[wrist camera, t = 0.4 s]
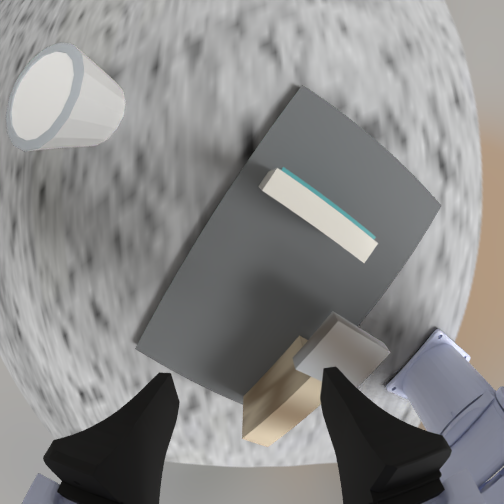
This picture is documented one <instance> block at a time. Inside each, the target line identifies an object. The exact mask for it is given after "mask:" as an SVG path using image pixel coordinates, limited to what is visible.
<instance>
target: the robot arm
mask: <svg viewBox="0 0 504 504" xmlns="http://www.w3.org/2000/svg"><path fill="white" fill-rule="evenodd" d="M439 335H440V336H439ZM469 360H470V356H469V355H468V354H467V353H466V352H465V351H464V350H463V349H461V348H460V347H459V346H458V345H457V344H456V343H455V342H454V341H452V340H451V339H450V338H449V337H448V336H447V335H446V334H444V333H443V332H442V331H441V330H440V329H436V330H435V331H434V332H433V333H432V335H431V336H430V337H429V338H428V340H427V341H426V342H425V343H424V344H423V346H422V347H421V348H420V349H419V350H418V352H417V353H416V354H415V355H414V356H413V357H412V359H411V360H410V361H409V362H408V363H407V364H406V365H405V366H404V367H403V369H402V370H401V371H400V372H399V373H398V374H397V375H396V376H395V377H394V378H393V379H392V380H391V381H390V382H389V383H388V384H387V385H386V389H387V390H388V391H390V392H392V393H394V394H396V395H399V396H401V397H404V398H406V399H408V400H409V401H410V403H411V405H412V406H413V408H414V410H415V411H416V413H417V415H418V416H419V418H420V420H421V421H422V423H423V425H424V426H425V428H426V430H427V431H425V430H422V429H419V428H417V427H414V426H412V425H410V424H407V423H405V422H403V421H401V420H399V419H397V418H396V417H394V416H392V415H390V414H389V413H387V412H386V411H384V410H383V409H381V408H380V407H378V406H377V405H376V404H375V403H373V402H372V401H371V400H370V399H368V398H367V397H366V396H365V395H364V394H363V393H362V392H361V391H360V390H358V389H357V388H356V387H355V386H354V385H353V384H352V383H351V382H350V381H349V380H348V379H347V377H346V376H345V375H344V374H343V373H342V372H341V371H340V370H339V369H338V368H337V367H329V368H324V369H323V378H322V386H321V394H320V401H321V406H322V412H323V416H324V419H325V422H326V425H327V429H328V432H329V435H330V438H331V441H332V444H333V447H334V450H335V454H336V458H337V463H338V468H339V474H340V481H341V487H342V495H343V504H504V468H503V469H502V470H501V471H499V472H498V473H497V474H496V475H495V476H494V477H493V478H492V479H491V480H489V481H487V480H488V479H489V478H491V477H492V476H493V475H494V474H495V473H496V472H497V471H498V470H499V469H500V468H502V467H503V466H504V387H500V388H499V389H498V390H497V391H495V390H494V389H493V388H492V387H491V385H490V384H489V383H488V382H487V381H486V380H485V379H484V378H483V377H482V376H481V375H480V374H479V372H478V371H477V370H476V369H475V368H474V367H473V366H472V365H471V364H470V363H469ZM178 409H179V399H178V396H177V392H176V389H175V386H174V382H173V379H172V376H171V373H158V374H157V375H156V376H155V377H154V378H153V379H152V380H151V381H150V382H149V383H148V384H147V385H146V386H145V387H144V388H143V389H142V390H141V391H140V392H139V393H138V394H137V395H136V396H135V397H134V398H133V399H131V400H130V401H129V402H128V403H127V404H126V405H124V406H123V407H122V408H121V409H119V410H118V411H117V412H115V413H114V414H113V415H111V416H109V417H108V418H106V419H105V420H103V421H101V422H100V423H98V424H96V425H94V426H92V427H90V428H88V429H86V430H84V431H81V432H79V433H76V434H74V435H71V436H67V437H64V438H60V439H56V440H54V441H53V442H52V444H51V446H50V447H49V449H48V451H47V452H46V454H45V455H44V458H43V459H44V462H45V464H46V465H47V466H48V467H49V468H50V469H51V470H52V471H53V472H54V473H55V474H56V475H57V476H58V477H59V478H60V479H61V480H62V482H61V484H60V485H59V484H58V483H56V482H55V481H53V480H51V479H49V478H47V477H45V476H43V475H41V474H39V473H38V474H37V476H36V478H35V479H34V481H33V483H32V485H31V487H30V489H29V491H28V492H27V494H26V496H25V498H24V500H23V502H22V504H159V496H160V486H161V478H162V471H163V465H164V460H165V456H166V452H167V449H168V446H169V442H170V439H171V436H172V433H173V430H174V427H175V423H176V420H177V415H178ZM486 481H487V482H486Z"/></svg>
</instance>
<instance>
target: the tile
mask: <svg viewBox="0 0 504 504" xmlns="http://www.w3.org/2000/svg"><path fill="white" fill-rule="evenodd" d="M258 187H259V188H260V189H261V190H262V191H263V192H265V193H266V194H268V195H269V196H271V197H272V198H274V199H275V200H277V201H278V202H280V203H281V204H283V205H284V206H286V207H287V208H289V209H290V210H291V211H293V212H294V213H296V214H297V215H299V216H300V217H302V218H303V219H304V220H306V221H307V222H309V223H310V224H311V225H313V226H314V227H316V228H317V229H318V230H320V231H321V232H323V233H324V234H325V235H327V236H328V237H330V238H331V239H332V240H334V241H335V242H336V243H338V244H339V245H340V246H342V247H343V248H344V249H346V250H347V251H348V252H350V253H351V254H352V255H354V256H355V257H356V258H358V259H359V260H360V261H362V262H363V263H365V261H366V260H367V259H368V257H369V256H370V254H371V253H372V252H373V250H374V249H375V247H376V246H377V244H378V243H377V242H376V241H375V240H374V239H375V238H376V236H374V235H373V234H372V233H371V232H369V231H368V230H367V229H366V228H365V227H363V226H362V225H361V224H360V223H358V222H357V221H356V220H355V219H353V218H352V217H351V216H350V215H348V214H347V213H346V212H345V211H343V210H342V209H341V208H339V207H338V206H337V205H335V204H334V203H333V202H331V201H330V200H329V199H328V198H326V197H325V196H323V195H322V194H321V193H319V192H318V191H317V190H315V189H314V188H313V187H311V186H310V185H308V184H307V183H306V182H304V181H303V180H301V179H300V178H299V177H297V176H296V175H294V174H293V173H291V172H290V171H289V170H287V169H286V168H284V167H282V168H279V169H278V168H276V169H274V170H271V171H269V172H268V173H267V175H266V176H265V178H264V179H263V180H262V182H261V183H260V185H259V186H258Z"/></svg>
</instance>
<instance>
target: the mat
mask: <svg viewBox="0 0 504 504" xmlns="http://www.w3.org/2000/svg"><path fill="white" fill-rule="evenodd" d="M282 167H284V168H286V169H287V170H289V171H290V172H291V173H293V174H294V175H296V176H297V177H299V178H300V179H301V180H303V181H304V182H306V183H307V184H308V185H310V186H311V187H313V188H314V189H315V190H317V191H318V192H319V193H321V194H322V195H323V196H325V197H326V198H328V199H329V200H330V201H331V202H333V203H334V204H335V205H337V206H338V207H339V208H341V209H342V210H343V211H345V212H346V213H347V214H348V215H350V216H351V217H352V218H353V219H355V220H356V221H357V222H358V223H360V224H361V225H362V226H363V227H365V228H366V229H367V230H368V231H369V232H371V233H372V234H373V235H374V236H376V238H375V239H374V240H375V241H376V242H377V243H378V244H377V246H376V247H375V249H374V250H373V252H372V253H371V254H370V256H369V257H368V259H367V260H366V261H365V263H363V262H362V261H360V260H359V259H358V258H356V257H355V256H354V255H352V254H351V253H350V252H348V251H347V250H346V249H344V248H343V247H342V246H340V245H339V244H338V243H336V242H335V241H334V240H332V239H331V238H330V237H328V236H327V235H325V234H324V233H323V232H321V231H320V230H318V229H317V228H316V227H314V226H313V225H311V224H310V223H309V222H307V221H306V220H304V219H303V218H302V217H300V216H299V215H297V214H296V213H294V212H293V211H291V210H290V209H289V208H287V207H286V206H284V205H283V204H281V203H280V202H278V201H277V200H275V199H274V198H272V197H271V196H269V195H268V194H266V193H265V192H263V191H262V190H261V189H260V188H259V187H258V186H259V185H260V183H261V182H262V180H263V179H264V178H265V176H266V175H267V173H268V172H269V171H271V170H274V169H276V168H278V169H279V168H282ZM440 207H441V205H440V204H439V202H438V201H437V200H436V199H435V198H434V197H433V196H432V195H431V193H430V192H429V191H428V190H427V189H426V188H425V187H424V186H423V185H422V184H421V183H420V182H419V181H418V180H417V179H416V178H415V176H414V175H413V174H412V173H411V172H410V171H409V170H408V169H407V168H406V167H404V166H403V165H402V164H401V163H400V162H399V161H398V160H397V159H396V158H395V157H394V156H393V155H392V154H391V153H390V152H389V151H387V150H386V149H385V148H384V147H383V146H382V145H381V144H380V143H378V142H377V141H376V140H375V139H374V138H373V137H372V136H370V135H369V134H368V133H367V132H366V131H364V130H363V129H362V128H361V127H359V126H358V125H357V124H356V123H355V122H353V121H352V120H351V119H349V118H348V117H347V116H346V115H344V114H343V113H342V112H340V111H339V110H338V109H336V108H335V107H334V106H332V105H331V104H329V103H328V102H327V101H325V100H324V99H322V98H321V97H319V96H318V95H317V94H315V93H314V92H312V91H311V90H309V89H308V88H306V87H305V86H303V85H302V86H301V87H300V89H299V90H298V91H297V93H296V94H295V95H294V97H293V98H292V99H291V101H290V102H289V103H288V105H287V106H286V108H285V109H284V110H283V112H282V113H281V114H280V116H279V117H278V118H277V120H276V121H275V123H274V124H273V125H272V127H271V128H270V130H269V131H268V132H267V134H266V135H265V137H264V138H263V140H262V141H261V142H260V144H259V145H258V147H257V148H256V150H255V151H254V152H253V154H252V155H251V157H250V158H249V160H248V161H247V163H246V164H245V166H244V167H243V169H242V170H241V172H240V173H239V175H238V176H237V178H236V179H235V181H234V182H233V184H232V185H231V187H230V188H229V190H228V191H227V193H226V194H225V196H224V197H223V199H222V200H221V202H220V204H219V205H218V207H217V208H216V210H215V211H214V213H213V215H212V216H211V218H210V219H209V221H208V223H207V224H206V226H205V227H204V229H203V231H202V232H201V234H200V235H199V237H198V239H197V240H196V242H195V244H194V245H193V247H192V249H191V250H190V252H189V254H188V255H187V257H186V259H185V260H184V262H183V264H182V265H181V267H180V269H179V270H178V272H177V274H176V276H175V277H174V279H173V281H172V282H171V284H170V286H169V288H168V289H167V291H166V293H165V295H164V296H163V298H162V300H161V302H160V304H159V305H158V307H157V309H156V311H155V313H154V314H153V316H152V318H151V320H150V322H149V324H148V325H147V327H146V329H145V331H144V333H143V335H142V337H141V339H140V340H139V342H138V344H137V346H136V348H135V349H137V350H138V351H140V352H142V353H143V354H145V355H147V356H148V357H150V358H152V359H153V360H155V361H157V362H158V363H160V364H162V365H164V366H165V367H167V368H169V369H171V370H173V371H174V372H176V373H178V374H180V375H182V376H184V377H186V378H187V379H189V380H191V381H193V382H195V383H197V384H199V385H201V386H203V387H205V388H207V389H209V390H211V391H214V392H216V393H218V394H220V395H222V396H224V397H227V398H229V399H231V400H233V401H236V402H238V403H240V404H243V396H244V395H245V394H246V393H247V392H248V391H249V390H250V389H251V388H252V387H253V386H254V385H255V384H256V383H257V382H258V381H259V380H260V379H261V378H262V377H263V376H264V375H265V373H266V372H267V371H268V370H269V369H270V368H271V367H272V366H273V365H274V364H275V363H276V362H277V360H278V359H279V358H280V357H281V356H282V355H283V354H284V353H285V351H286V350H287V349H288V348H289V347H290V346H291V345H292V344H293V342H294V341H295V340H296V339H297V338H298V337H299V336H301V337H303V338H305V339H307V340H309V339H310V338H311V336H312V335H313V334H314V333H315V332H316V331H317V329H318V328H319V327H320V326H321V325H322V323H323V322H324V321H325V320H326V319H327V317H328V316H329V315H330V314H331V313H332V311H333V312H335V313H337V314H338V315H340V316H341V317H343V318H345V319H346V320H348V321H349V322H351V323H353V324H354V325H356V326H357V327H358V325H359V324H360V323H361V322H362V321H363V319H364V318H365V317H366V316H367V314H368V313H369V312H370V311H371V309H372V308H373V307H374V306H375V304H376V303H377V302H378V301H379V299H380V298H381V297H382V295H383V294H384V293H385V291H386V290H387V289H388V287H389V286H390V285H391V283H392V282H393V280H394V279H395V278H396V276H397V275H398V273H399V272H400V271H401V269H402V268H403V266H404V265H405V263H406V262H407V261H408V259H409V258H410V256H411V255H412V253H413V252H414V250H415V248H416V247H417V245H418V244H419V242H420V241H421V239H422V238H423V236H424V234H425V233H426V231H427V229H428V228H429V226H430V224H431V223H432V221H433V219H434V218H435V216H436V214H437V213H438V211H439V209H440Z"/></svg>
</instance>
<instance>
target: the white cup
mask: <svg viewBox="0 0 504 504" xmlns="http://www.w3.org/2000/svg"><path fill="white" fill-rule="evenodd" d="M125 103H126V101H125V96H124V92H123V90H122V88H121V87H120V86H119V85H118V84H117V83H116V82H115V81H114V80H113V79H112V78H111V77H110V76H109V75H108V74H106V73H105V72H104V71H103V70H102V69H101V68H100V67H99V66H98V65H97V64H95V63H94V62H93V61H92V60H91V59H90V58H89V57H88V56H86V55H85V54H84V53H83V52H82V51H81V50H80V49H79V48H77V47H76V46H75V45H74V44H69V43H62V42H60V43H57V44H55V45H52V46H49V47H47V48H45V49H44V50H42V51H41V52H40V53H39V54H37V55H36V56H35V57H34V58H33V59H32V60H30V62H29V63H28V64H27V66H26V67H25V68H24V70H23V71H22V72H21V74H20V75H19V77H18V79H17V81H16V83H15V85H14V87H13V90H12V92H11V94H10V97H9V102H8V107H7V112H6V125H7V133H8V135H9V138H10V140H11V142H12V144H13V146H15V147H17V148H19V149H20V150H22V151H24V152H25V151H34V150H44V149H55V148H69V147H87V146H96V145H98V144H100V143H102V142H104V141H106V140H107V139H108V138H109V137H110V136H111V135H112V134H113V133H114V132H115V131H116V130H117V128H118V126H119V124H120V122H121V120H122V118H123V116H124V110H125Z"/></svg>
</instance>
